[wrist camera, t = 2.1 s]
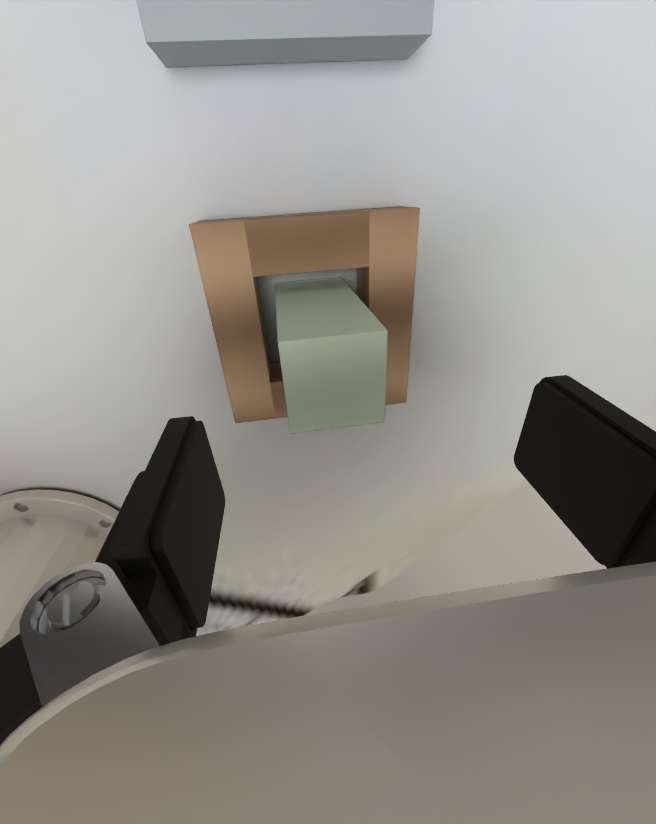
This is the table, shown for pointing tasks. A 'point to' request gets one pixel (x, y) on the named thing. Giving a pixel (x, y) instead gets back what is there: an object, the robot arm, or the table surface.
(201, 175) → the table surface
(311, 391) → the plug
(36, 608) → the robot arm
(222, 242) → the socket
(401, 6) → the socket
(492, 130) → the table surface
